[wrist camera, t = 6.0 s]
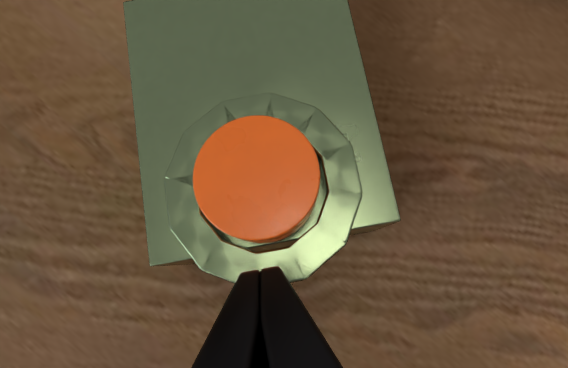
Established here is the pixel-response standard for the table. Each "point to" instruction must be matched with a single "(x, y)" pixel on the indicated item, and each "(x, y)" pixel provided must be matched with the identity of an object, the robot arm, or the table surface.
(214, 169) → the orange button
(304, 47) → the green block
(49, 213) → the table surface
